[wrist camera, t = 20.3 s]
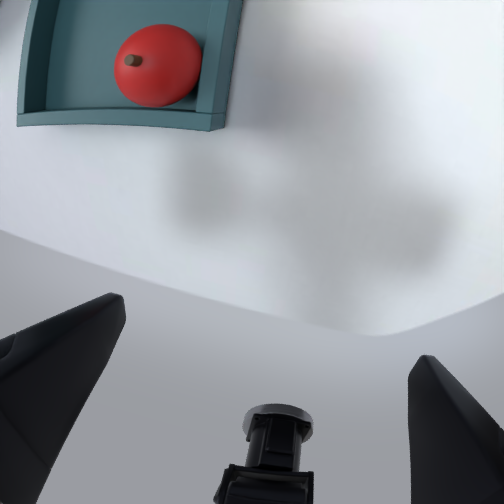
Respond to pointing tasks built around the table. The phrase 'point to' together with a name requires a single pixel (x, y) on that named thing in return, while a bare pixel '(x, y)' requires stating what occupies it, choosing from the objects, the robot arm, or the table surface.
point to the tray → (103, 58)
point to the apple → (158, 65)
